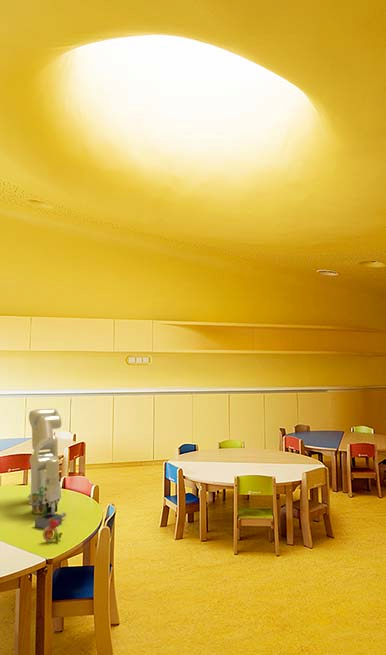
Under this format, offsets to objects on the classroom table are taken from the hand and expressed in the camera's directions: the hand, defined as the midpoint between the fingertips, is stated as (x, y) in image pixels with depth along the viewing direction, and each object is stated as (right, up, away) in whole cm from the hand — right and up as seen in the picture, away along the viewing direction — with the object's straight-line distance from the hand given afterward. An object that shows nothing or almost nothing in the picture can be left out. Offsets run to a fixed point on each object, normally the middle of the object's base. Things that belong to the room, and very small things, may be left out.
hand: (51, 512), depth 264 cm
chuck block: (+5, -1, -13) cm, 14 cm away
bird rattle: (+13, +1, -39) cm, 41 cm away
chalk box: (-8, -4, +9) cm, 13 cm away
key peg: (0, -2, 0) cm, 2 cm away
